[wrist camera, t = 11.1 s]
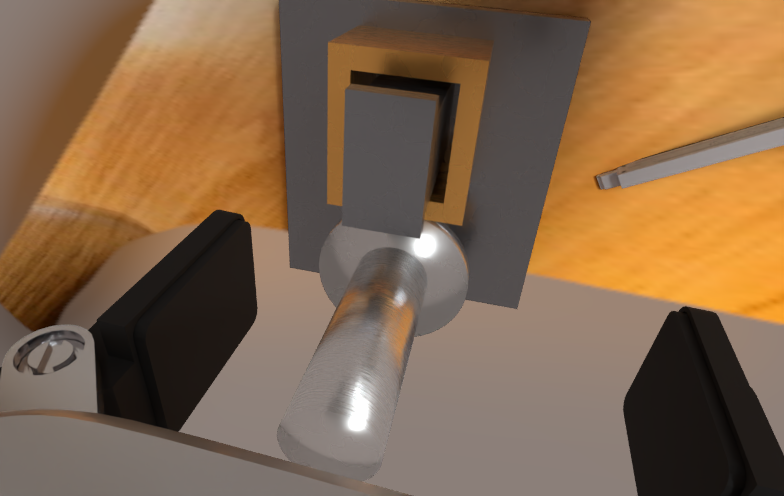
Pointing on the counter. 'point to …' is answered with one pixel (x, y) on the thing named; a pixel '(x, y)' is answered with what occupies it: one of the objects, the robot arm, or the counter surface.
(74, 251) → the counter surface
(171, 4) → the counter surface
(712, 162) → the caliper
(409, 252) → the post
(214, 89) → the counter surface
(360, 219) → the tall grey pillar block
